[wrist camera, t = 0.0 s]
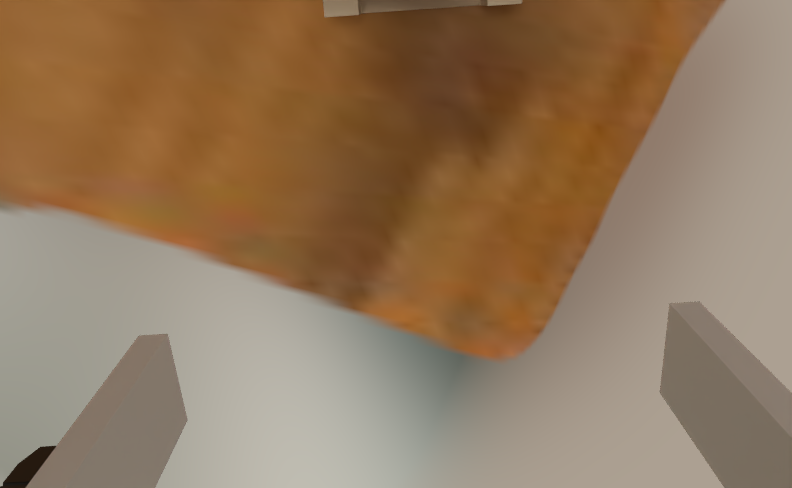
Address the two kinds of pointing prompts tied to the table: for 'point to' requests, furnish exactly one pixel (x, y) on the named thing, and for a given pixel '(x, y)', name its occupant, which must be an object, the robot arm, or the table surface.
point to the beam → (399, 5)
